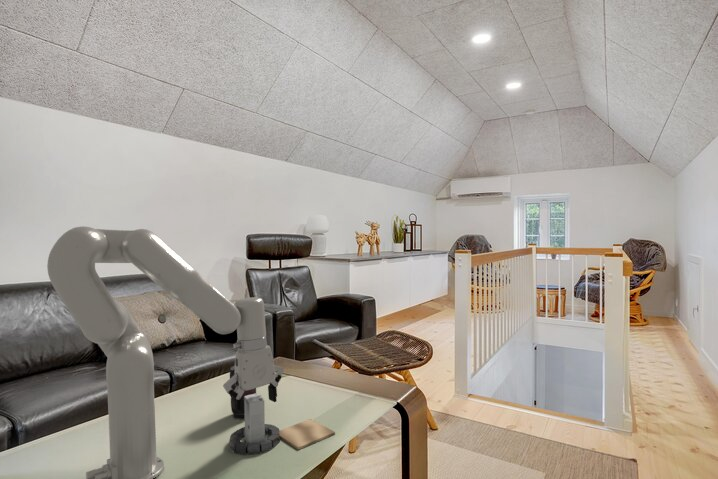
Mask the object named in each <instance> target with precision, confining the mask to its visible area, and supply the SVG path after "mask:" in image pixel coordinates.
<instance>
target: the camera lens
mask: <svg viewBox="0 0 718 479" xmlns="http://www.w3.org/2000/svg"><path fill="white" fill-rule="evenodd" d="M234 375H235V365H233V366H231V367H230V372H229V379H230V378H231V377H233V376H234ZM231 388H232V390H233V391H234V390H235V388H236V385H235V383H234V384H233V385H232V386H231ZM256 393H257V388H255V389H252V390H248V391H244V393H243V395H242V396H241V398H242V399H243V406H244V413H243V414H240V413H239V412H237V411H236V410H235V403H234V397H232V396H231V395H229V396H230V408H231V413H232V414H233V415H232V416H233V418H235V419H237V420H245V400H244V396H247V395H251V394H256Z"/></svg>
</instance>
